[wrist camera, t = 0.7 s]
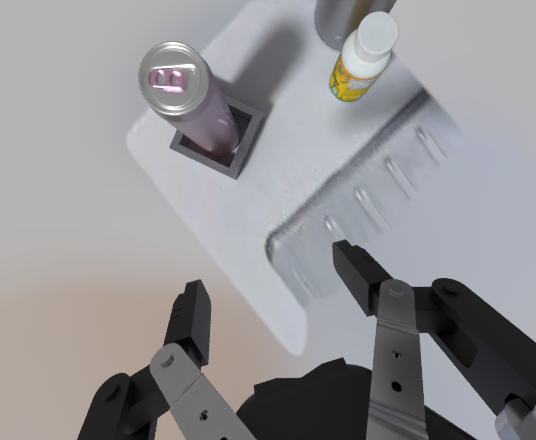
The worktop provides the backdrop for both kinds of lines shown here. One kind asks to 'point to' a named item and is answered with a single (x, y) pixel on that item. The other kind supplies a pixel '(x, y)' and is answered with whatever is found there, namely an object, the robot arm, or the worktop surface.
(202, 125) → the beverage can
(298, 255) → the worktop surface
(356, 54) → the supplement bottle
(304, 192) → the worktop surface
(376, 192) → the worktop surface
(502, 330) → the robot arm
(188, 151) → the collar
